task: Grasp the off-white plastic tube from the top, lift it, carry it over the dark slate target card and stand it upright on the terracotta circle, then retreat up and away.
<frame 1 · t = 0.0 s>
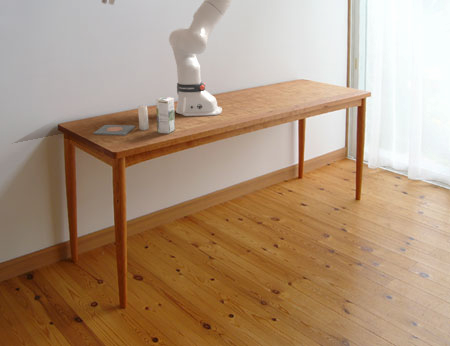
hand: (107, 3, 233), 52 cm above the table, tool tilted 20°, fingers open, 8 cm apart
syrup box: (166, 132, 235), on the table
target card: (114, 130, 238), on the table
tube: (144, 128, 240), on the table
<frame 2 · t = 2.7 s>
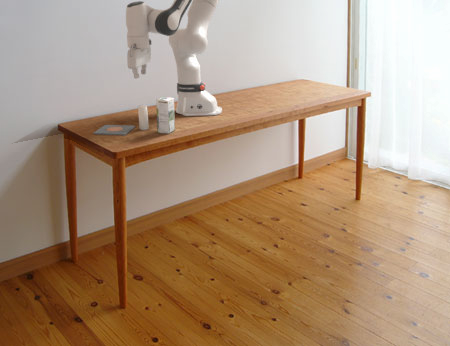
hand: (140, 76, 232), 23 cm above the table, tool pointing down, fingers open, 8 cm apart
nothing on the table moved.
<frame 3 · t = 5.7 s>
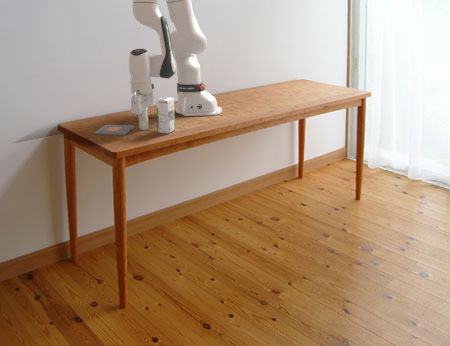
hand: (143, 119, 238), 4 cm above the table, tool pointing down, fingers closed on tube, 4 cm apart
tube: (144, 128, 240), on the table, touching gripper
everything else where it was.
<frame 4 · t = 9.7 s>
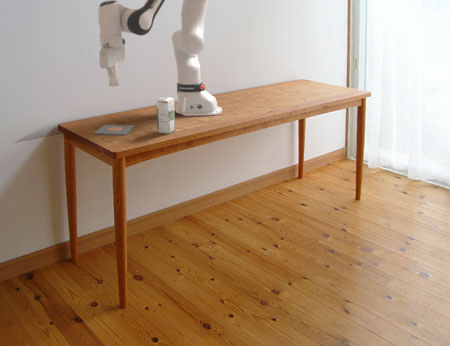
hand: (113, 75, 230), 24 cm above the table, tool pointing down, fingers closed on tube, 4 cm apart
tube: (114, 85, 231), point 20 cm above the table, touching gripper
everything else where it was.
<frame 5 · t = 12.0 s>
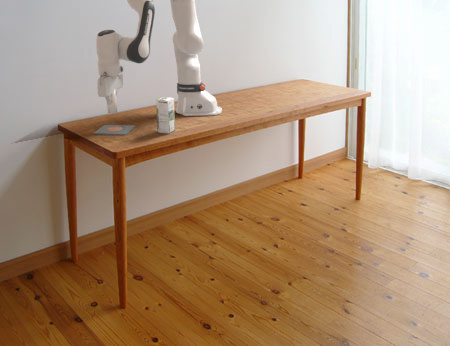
hand: (111, 102, 234), 12 cm above the table, tool pointing down, fingers closed on tube, 4 cm apart
tube: (112, 112, 235), point 8 cm above the table, touching gripper
everything else where it was.
when the fingers open (6 cm above the table, at t = 14.0 s): tube stays where it is, resting on target card.
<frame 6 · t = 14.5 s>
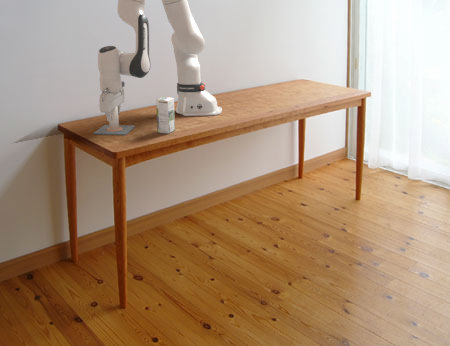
hand: (113, 117, 236), 6 cm above the table, tool pointing down, fingers open, 8 cm apart
tube: (114, 128, 238), point 1 cm above the table, touching target card
everything else where it was.
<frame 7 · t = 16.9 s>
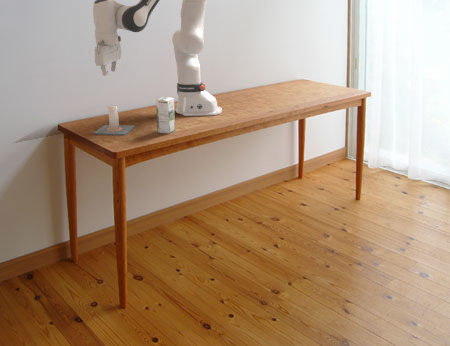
hand: (109, 73, 230), 25 cm above the table, tool pointing down, fingers open, 8 cm apart
nothing on the table moved.
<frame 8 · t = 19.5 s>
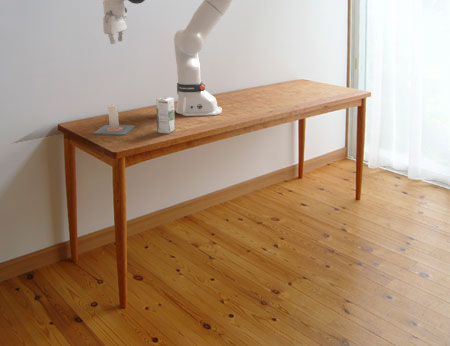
hand: (116, 42, 244), 35 cm above the table, tool pointing down, fingers open, 8 cm apart
nothing on the table moved.
at the end: tube inside the target area on the target card (0.1 cm from its centre), point 0.7 cm above the target card's base; tube tilted 0°; the gripper is holding nothing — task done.
